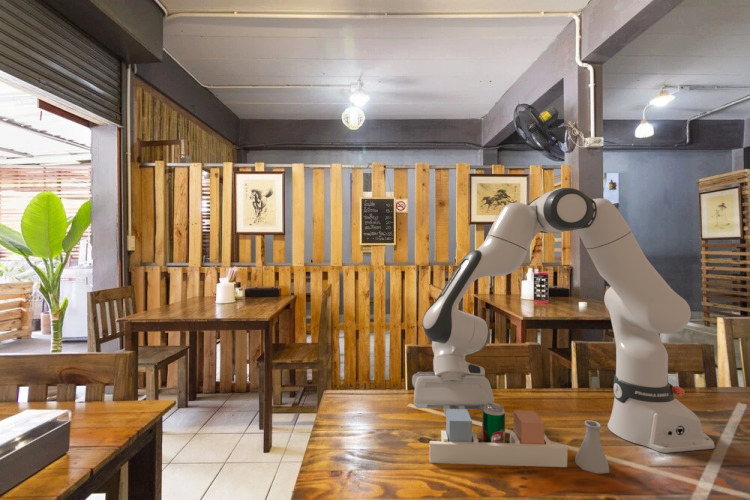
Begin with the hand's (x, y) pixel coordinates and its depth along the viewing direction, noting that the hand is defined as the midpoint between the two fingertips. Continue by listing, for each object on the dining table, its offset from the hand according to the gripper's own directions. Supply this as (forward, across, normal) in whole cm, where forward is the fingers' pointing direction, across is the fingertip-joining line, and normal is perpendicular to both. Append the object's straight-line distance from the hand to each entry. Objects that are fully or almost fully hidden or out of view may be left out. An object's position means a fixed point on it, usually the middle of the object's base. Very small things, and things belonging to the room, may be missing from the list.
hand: (455, 425), depth 95 cm
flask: (+9, +29, -2) cm, 30 cm away
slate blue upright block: (+6, 0, 0) cm, 6 cm away
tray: (+4, +8, +3) cm, 9 cm away
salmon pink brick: (+6, +16, 0) cm, 17 cm away
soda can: (+7, +8, 0) cm, 11 cm away
